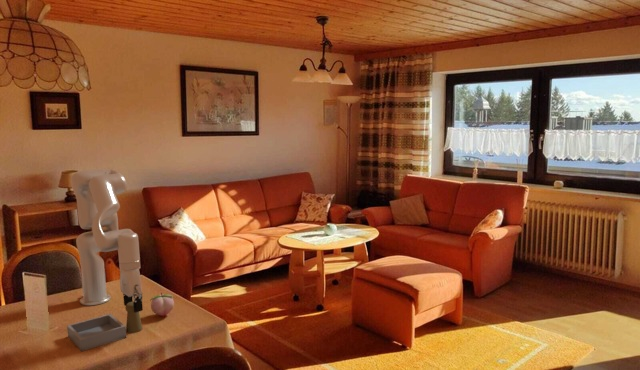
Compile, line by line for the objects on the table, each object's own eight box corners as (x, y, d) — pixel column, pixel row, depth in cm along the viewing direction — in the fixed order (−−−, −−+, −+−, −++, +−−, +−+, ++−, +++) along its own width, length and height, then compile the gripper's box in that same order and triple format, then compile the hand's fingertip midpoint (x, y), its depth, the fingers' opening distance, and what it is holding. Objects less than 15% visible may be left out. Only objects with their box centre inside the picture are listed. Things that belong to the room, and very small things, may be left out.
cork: (137, 333, 192) (135, 306, 191) (122, 332, 194) (120, 305, 192) (145, 326, 198) (143, 300, 197) (131, 325, 200) (129, 299, 198)
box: (68, 336, 190) (66, 325, 190) (111, 324, 201) (110, 313, 200) (81, 351, 178) (80, 339, 178) (126, 337, 189) (125, 326, 188)
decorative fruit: (172, 310, 215) (171, 287, 213) (176, 317, 207) (175, 293, 206) (149, 314, 210) (148, 291, 209) (152, 321, 203) (151, 297, 202)
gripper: (111, 262, 196) (115, 304, 198) (128, 272, 183) (132, 317, 185) (130, 258, 201) (134, 299, 203) (148, 267, 188) (152, 311, 190)
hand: (133, 308), depth 194 cm, fingers open, 9 cm apart
